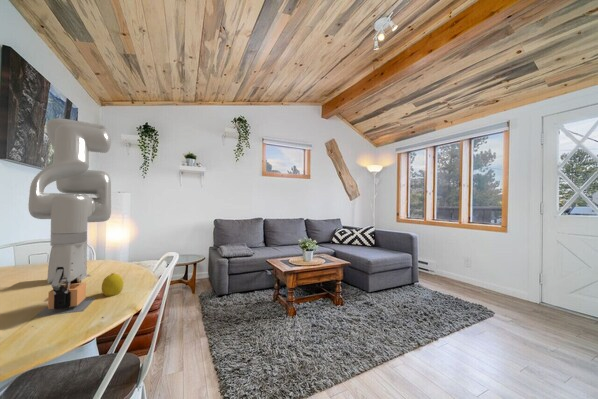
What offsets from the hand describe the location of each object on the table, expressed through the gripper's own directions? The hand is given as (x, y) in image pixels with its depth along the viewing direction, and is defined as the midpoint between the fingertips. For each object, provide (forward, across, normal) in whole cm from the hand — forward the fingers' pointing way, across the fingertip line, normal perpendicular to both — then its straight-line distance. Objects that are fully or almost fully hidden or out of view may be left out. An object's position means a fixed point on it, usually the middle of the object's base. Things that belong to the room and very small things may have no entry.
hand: (68, 302), depth 70 cm
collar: (0, 0, 0) cm, 0 cm away
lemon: (+3, -7, +9) cm, 11 cm away
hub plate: (+3, 0, 0) cm, 3 cm away
